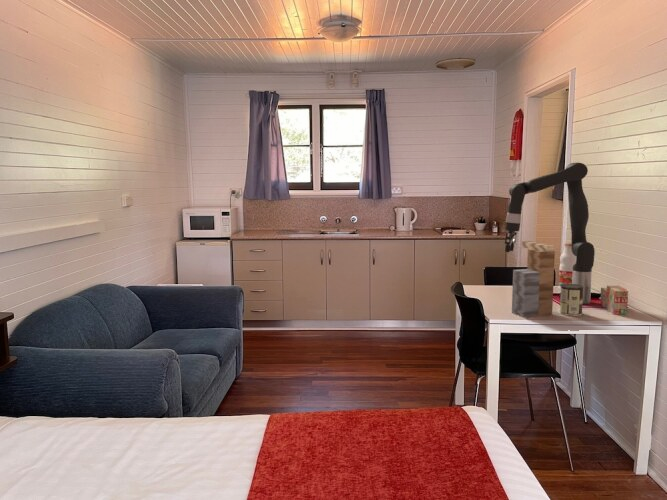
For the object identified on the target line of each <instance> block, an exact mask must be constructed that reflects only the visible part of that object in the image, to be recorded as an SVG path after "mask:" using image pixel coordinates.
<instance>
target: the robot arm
mask: <svg viewBox="0 0 667 500" xmlns="http://www.w3.org/2000/svg"><path fill="white" fill-rule="evenodd" d="M588 171H589V170H588V166H587V165H586V164H585V163H582V162H571V163H568V165H566V167H565V169H563V170H560V171H556V172H554V173H553V172H552V173H550V174H544V175H542V176H538V177H536V178H532V179H530V180H527V181H523V182H520V183H517V184H516V183H515V184H513V185H512V186H510V188H509V190H508V194H509V195H510V202H509V203H508V207H507V213H506V218H505V225H504V230H505V231H508V232H506V233H505V241H504V245H505V249H504V251H505V253H510V252H513V251H514V249H515V244H516V243H517V234H518V232H520V229H521V221H522V211H523V203H524V200H525V196H526V195H528V194H533V193H537V192H541V191H542V190H546V189H548V188H551V187H554V186H556V185H560V184H564V183H566V186H567V192H568V193H567V194H568V196H567V197H568V211H569V212H568V213H569V214H568V215H569V222H570V230H571V232H570V233H571V239H570V240H571V250H572V253H573V254H574V255H575V256H576V263H575V264H574V265H573V273H572V284H577V285H582V286H583V302H582V305H583V304H584V305H585V304H588V305H589V304H590V303H591V293H592V271H593V267H594V262H595V254H596V253H595V252H596V251H595V250H596V249H595V247H594V245H593V243H591V242H589V241H587V236H586V229H587V225H588V221H589V218H590V217H589V214H590V213H589V204H588V200H587V197H586V195H585V192H584V190H583V179H585V178H586V176H587V175H588Z"/></svg>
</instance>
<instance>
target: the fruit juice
mask: <svg viewBox="0 0 667 500" xmlns="http://www.w3.org/2000/svg"><path fill="white" fill-rule="evenodd" d="M559 261H560V264H559V268H558V290H560V291H561V285H562V284H572V273H573V265H574V264H575V263H576V256H575V255H574V254H573V253H572V250H571V243H568V242H567V243H564V248H563V252H562V254H561V255H560V257H559Z"/></svg>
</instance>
